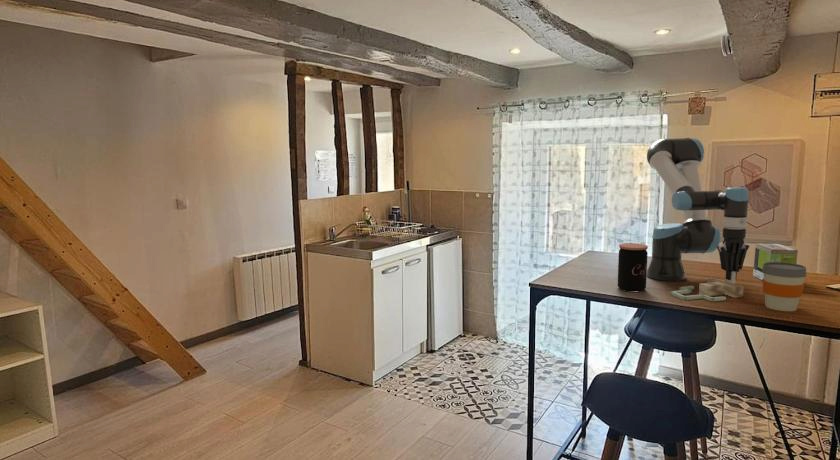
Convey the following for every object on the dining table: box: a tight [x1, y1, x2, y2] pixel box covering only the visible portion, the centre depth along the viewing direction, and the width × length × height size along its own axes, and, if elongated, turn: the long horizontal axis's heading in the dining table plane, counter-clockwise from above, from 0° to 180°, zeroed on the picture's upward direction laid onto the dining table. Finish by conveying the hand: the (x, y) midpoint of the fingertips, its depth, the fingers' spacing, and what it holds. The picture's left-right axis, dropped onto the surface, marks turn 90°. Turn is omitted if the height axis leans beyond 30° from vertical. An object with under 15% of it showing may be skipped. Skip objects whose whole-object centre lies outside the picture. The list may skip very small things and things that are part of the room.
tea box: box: [752, 243, 798, 281], centre depth 214 cm, size 15×10×15 cm, turn 168°
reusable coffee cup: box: [761, 262, 807, 312], centre depth 177 cm, size 13×13×15 cm
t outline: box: [669, 285, 727, 303], centre depth 195 cm, size 14×17×1 cm
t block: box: [698, 278, 744, 298], centre depth 197 cm, size 12×13×4 cm
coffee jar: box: [617, 242, 649, 292], centre depth 205 cm, size 11×11×18 cm
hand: (730, 287), depth 198 cm, fingers closed
